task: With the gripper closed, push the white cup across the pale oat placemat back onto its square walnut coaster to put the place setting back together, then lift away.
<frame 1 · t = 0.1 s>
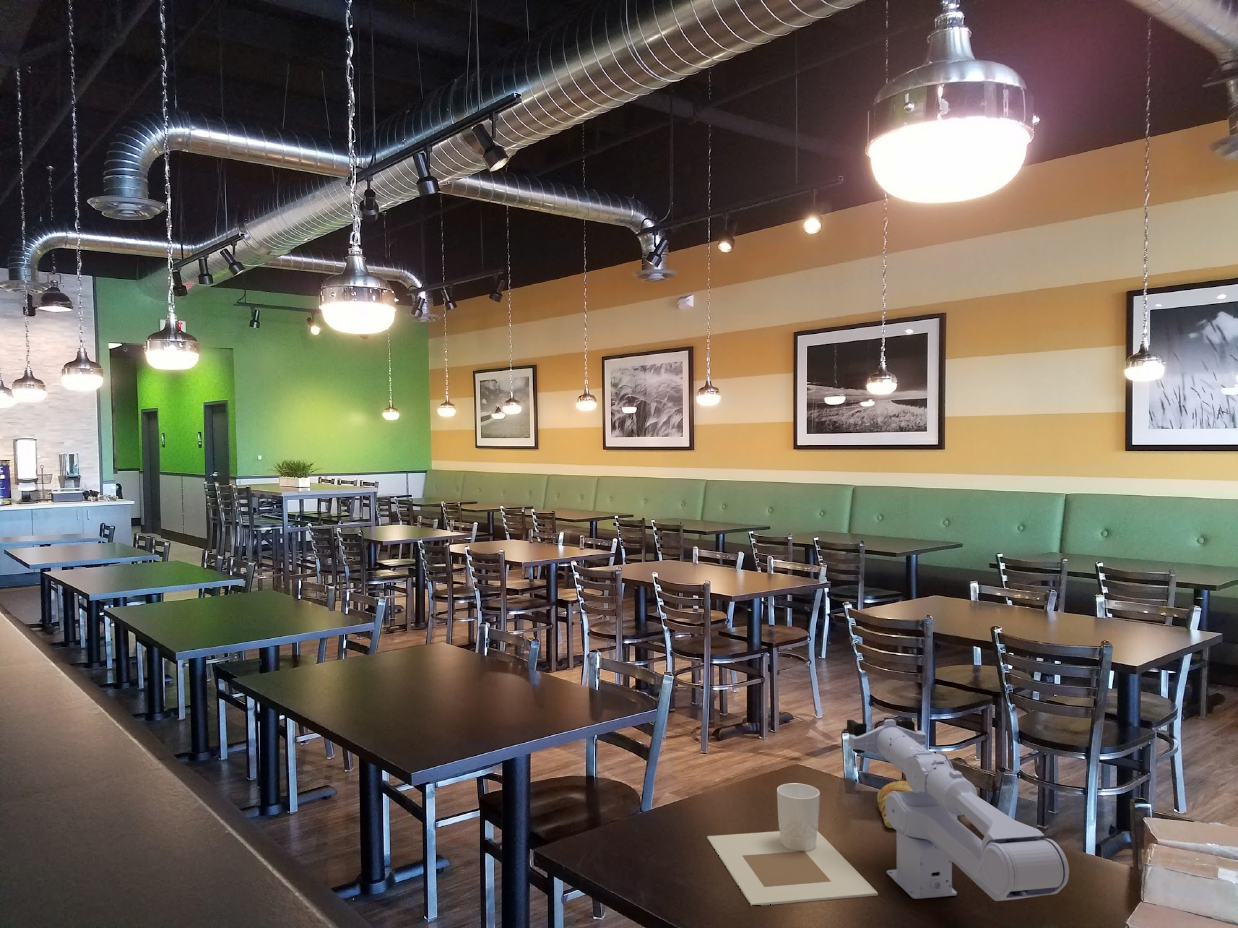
hand: (867, 723, 165), 22 cm above the table, tool horizontal, fingers open, 7 cm apart
croissant: (901, 815, 175), on the table
placemat: (786, 864, 152), on the table
white cup: (798, 844, 160), resting on placemat
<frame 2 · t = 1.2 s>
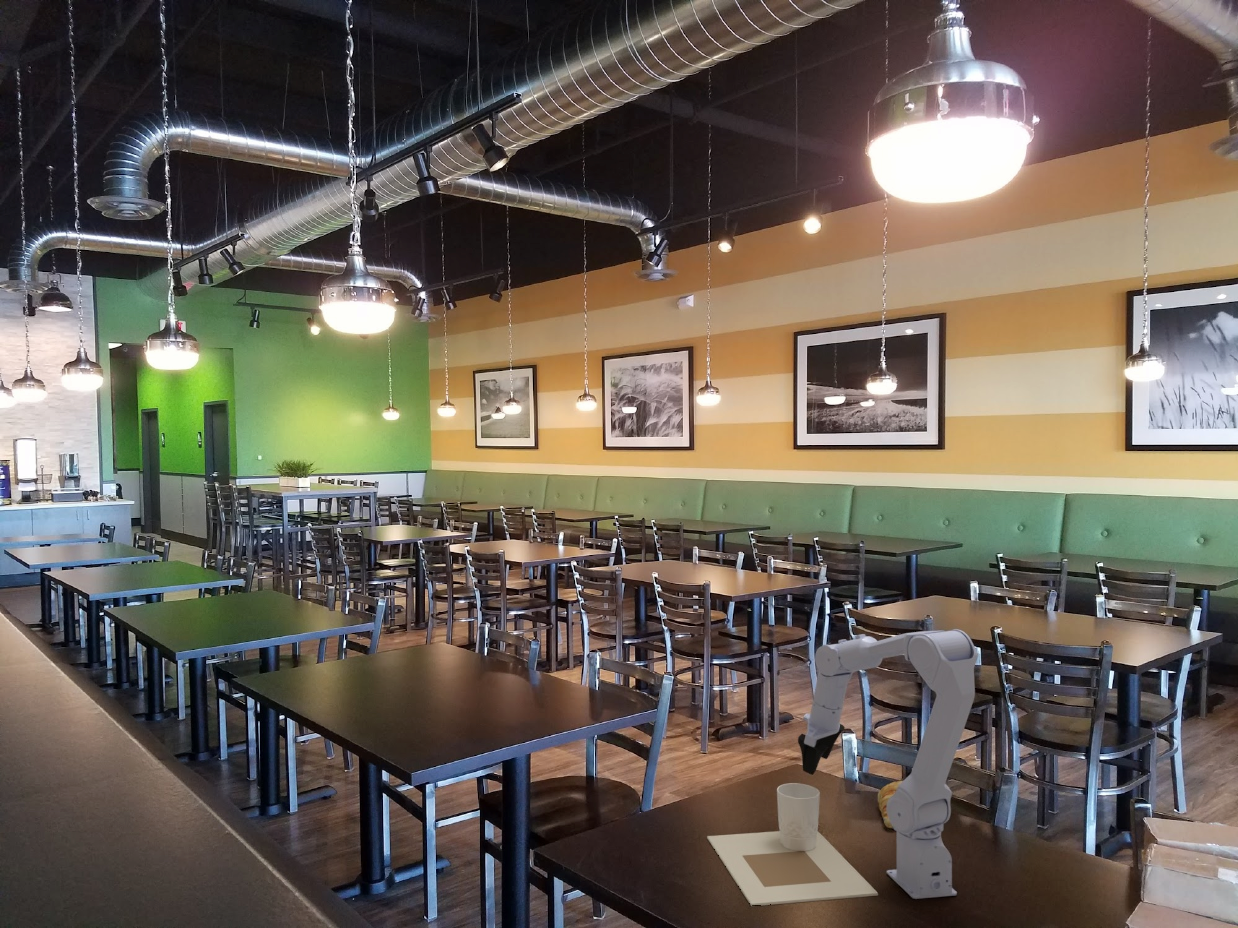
hand: (815, 764, 168), 13 cm above the table, tool tilted 15°, fingers open, 7 cm apart
nothing on the table moved.
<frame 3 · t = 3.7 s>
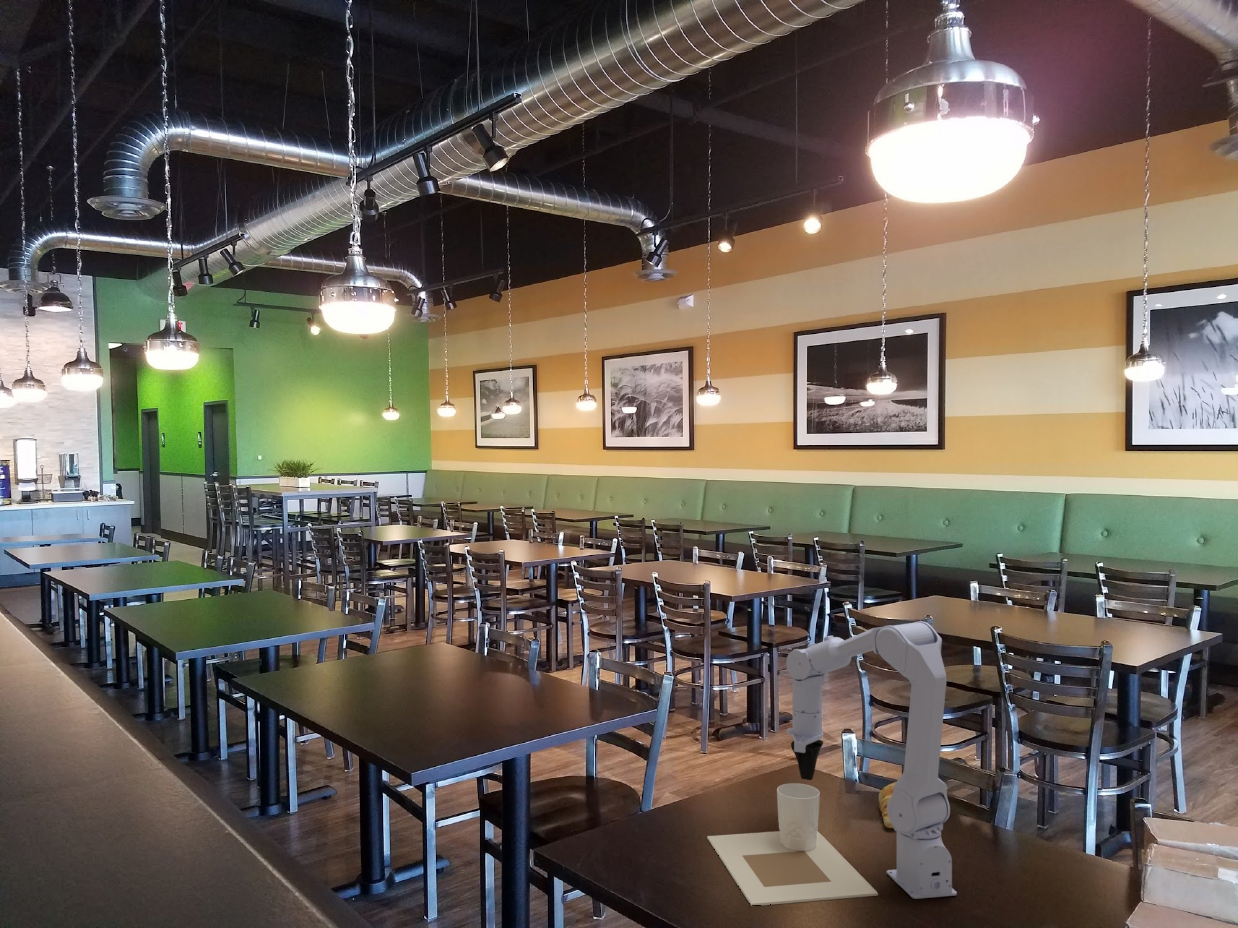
hand: (807, 778, 168), 10 cm above the table, tool pointing down, fingers closed
nothing on the table moved.
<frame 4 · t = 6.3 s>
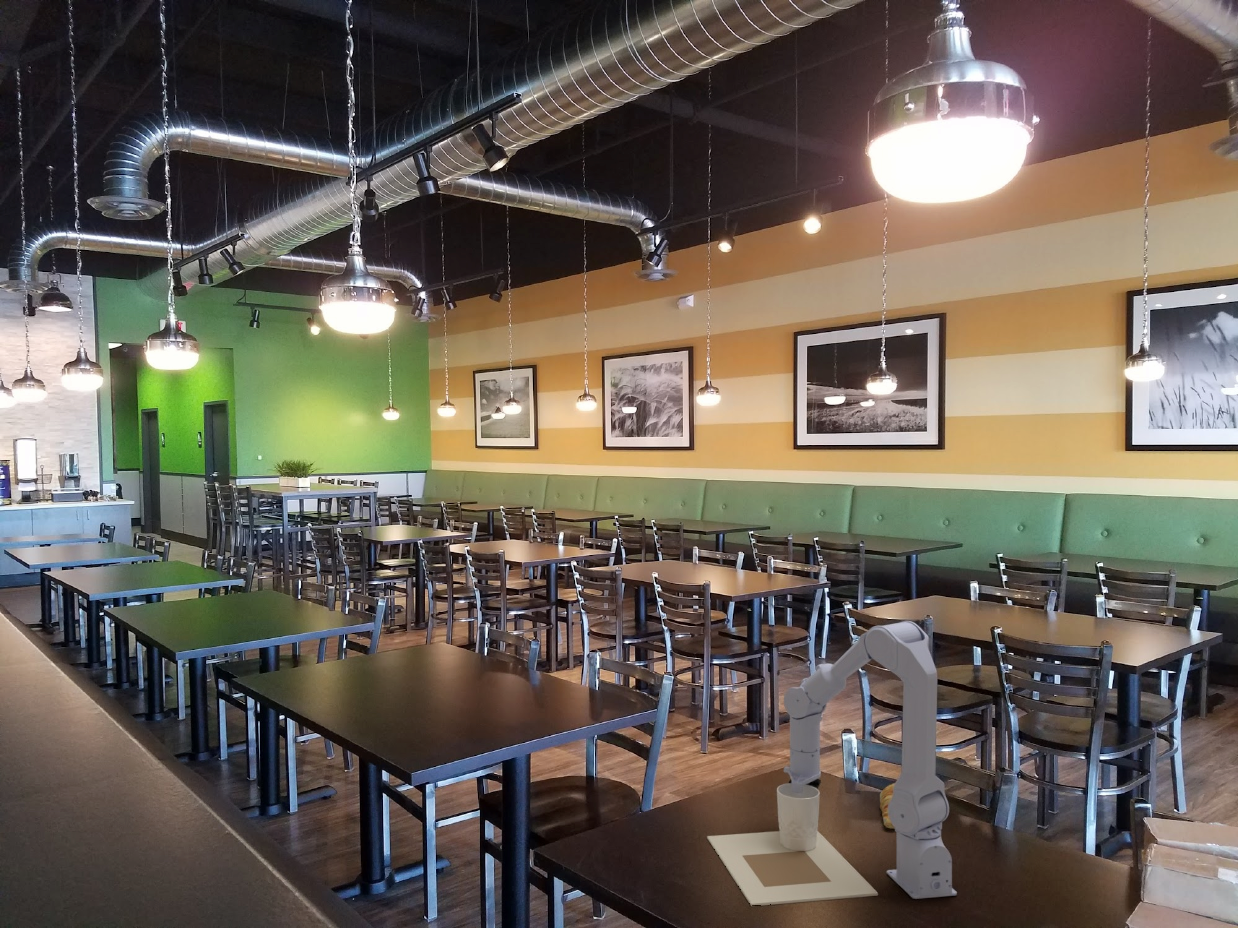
hand: (804, 817, 165), 3 cm above the table, tool pointing down, fingers closed
white cup: (798, 844, 160), resting on placemat, touching gripper
everything else where it was.
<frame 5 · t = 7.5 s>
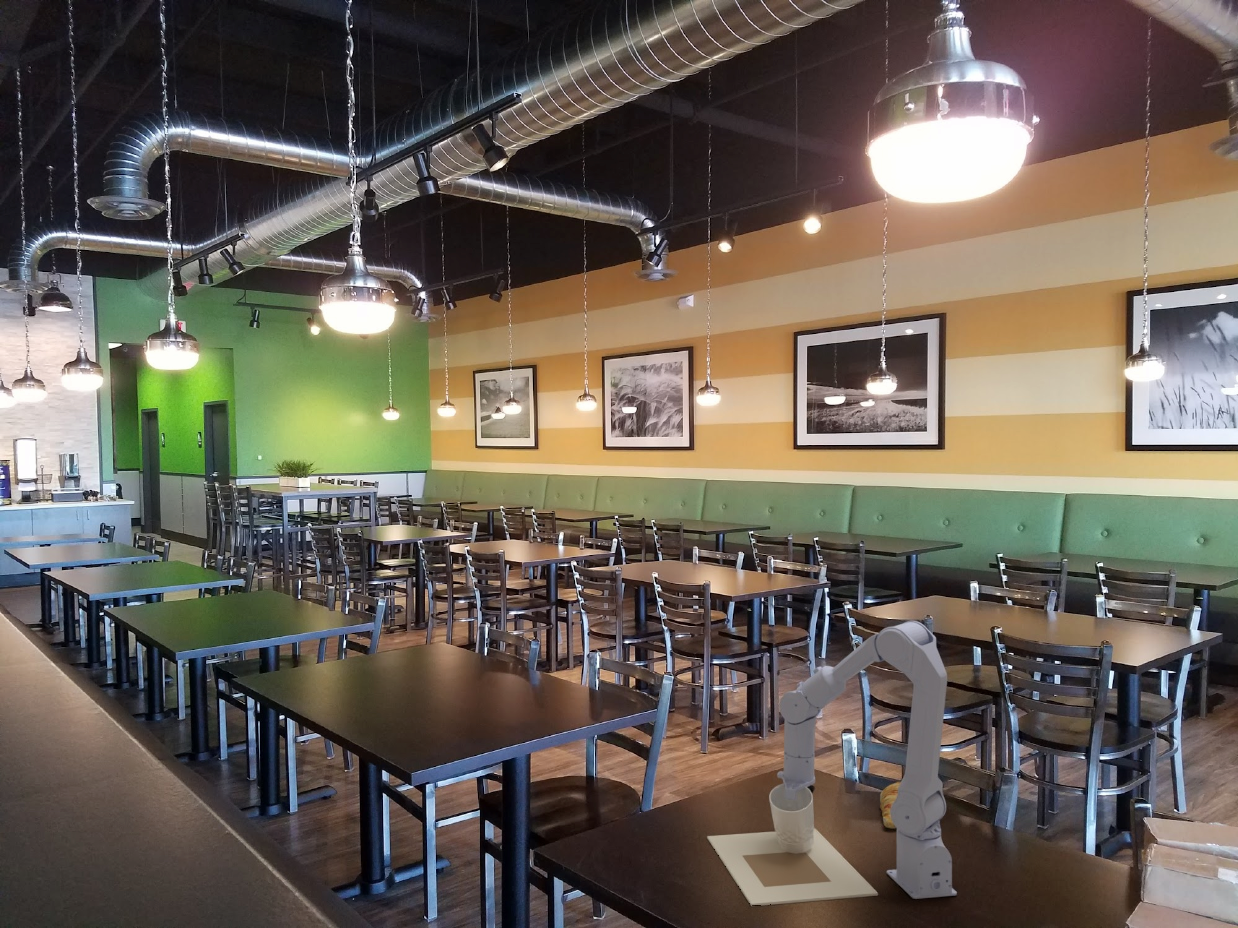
hand: (797, 824, 161), 3 cm above the table, tool pointing down, fingers closed, pressing on white cup
white cup: (795, 841, 158), point 1 cm above the table, touching gripper, placemat
everything else where it was.
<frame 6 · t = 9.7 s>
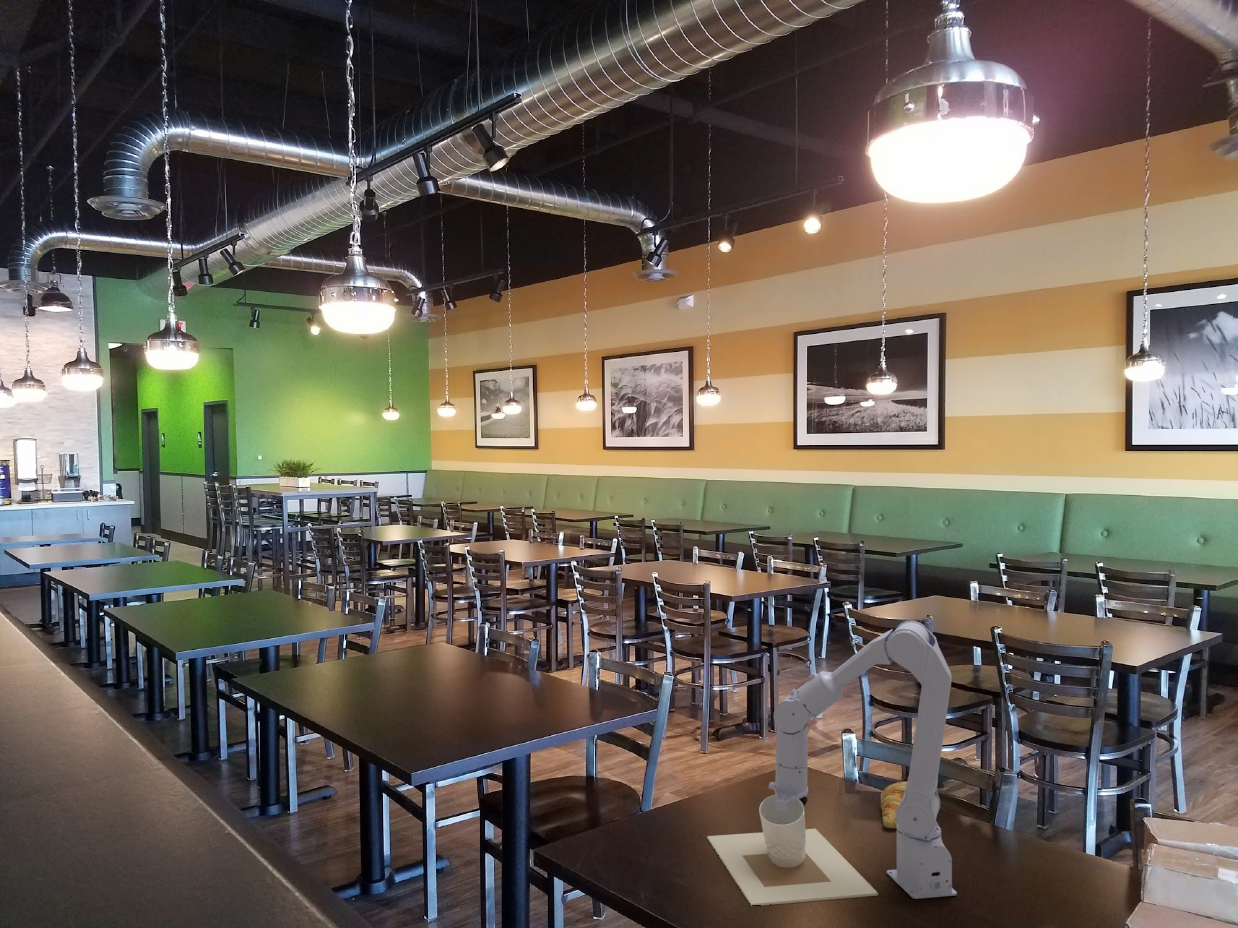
hand: (789, 836, 155), 3 cm above the table, tool pointing down, fingers closed, pressing on white cup
white cup: (787, 854, 153), point 1 cm above the table, touching gripper, placemat
everything else where it was.
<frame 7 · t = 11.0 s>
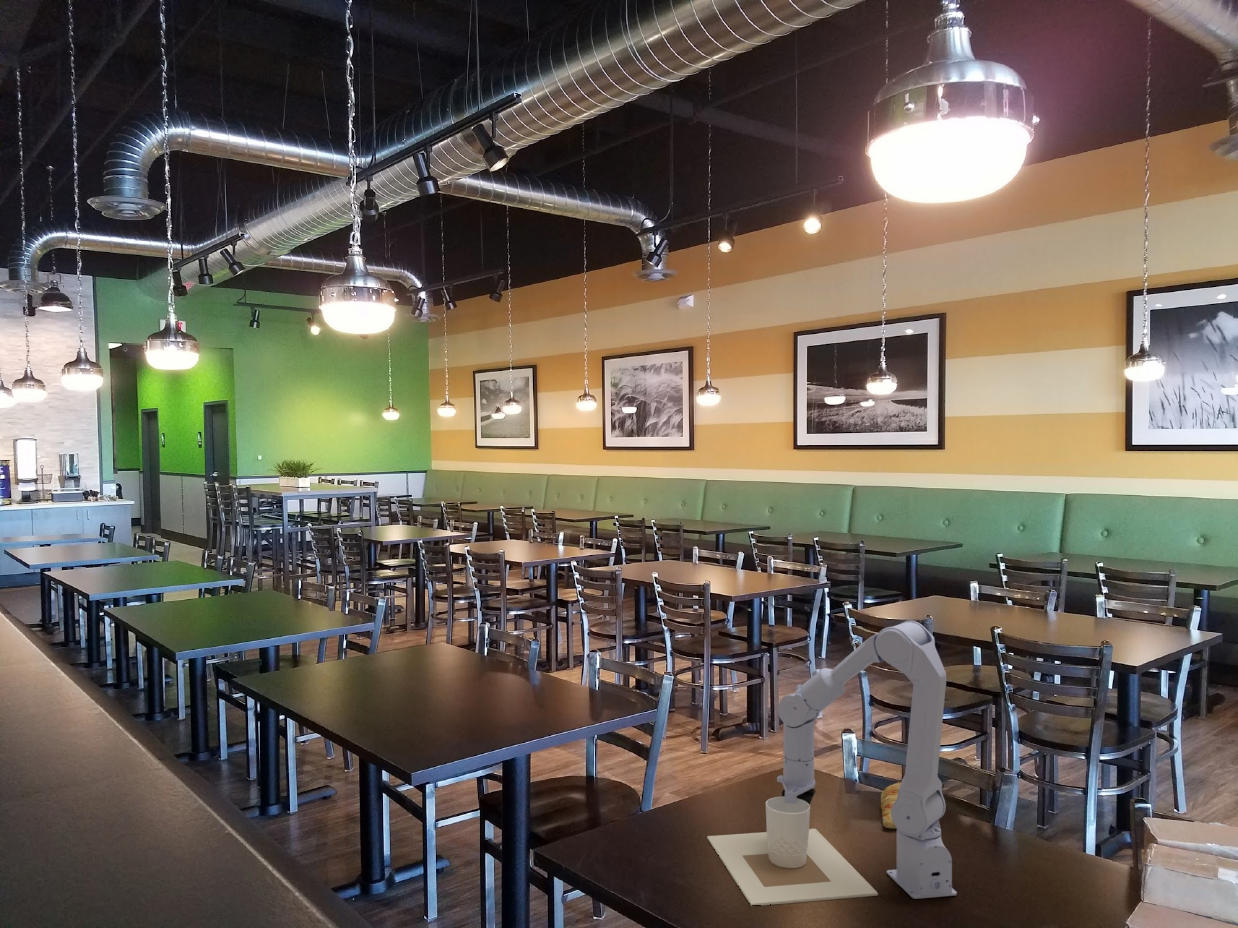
hand: (798, 828, 160), 3 cm above the table, tool pointing down, fingers closed
white cup: (787, 861, 153), resting on placemat
everything else where it was.
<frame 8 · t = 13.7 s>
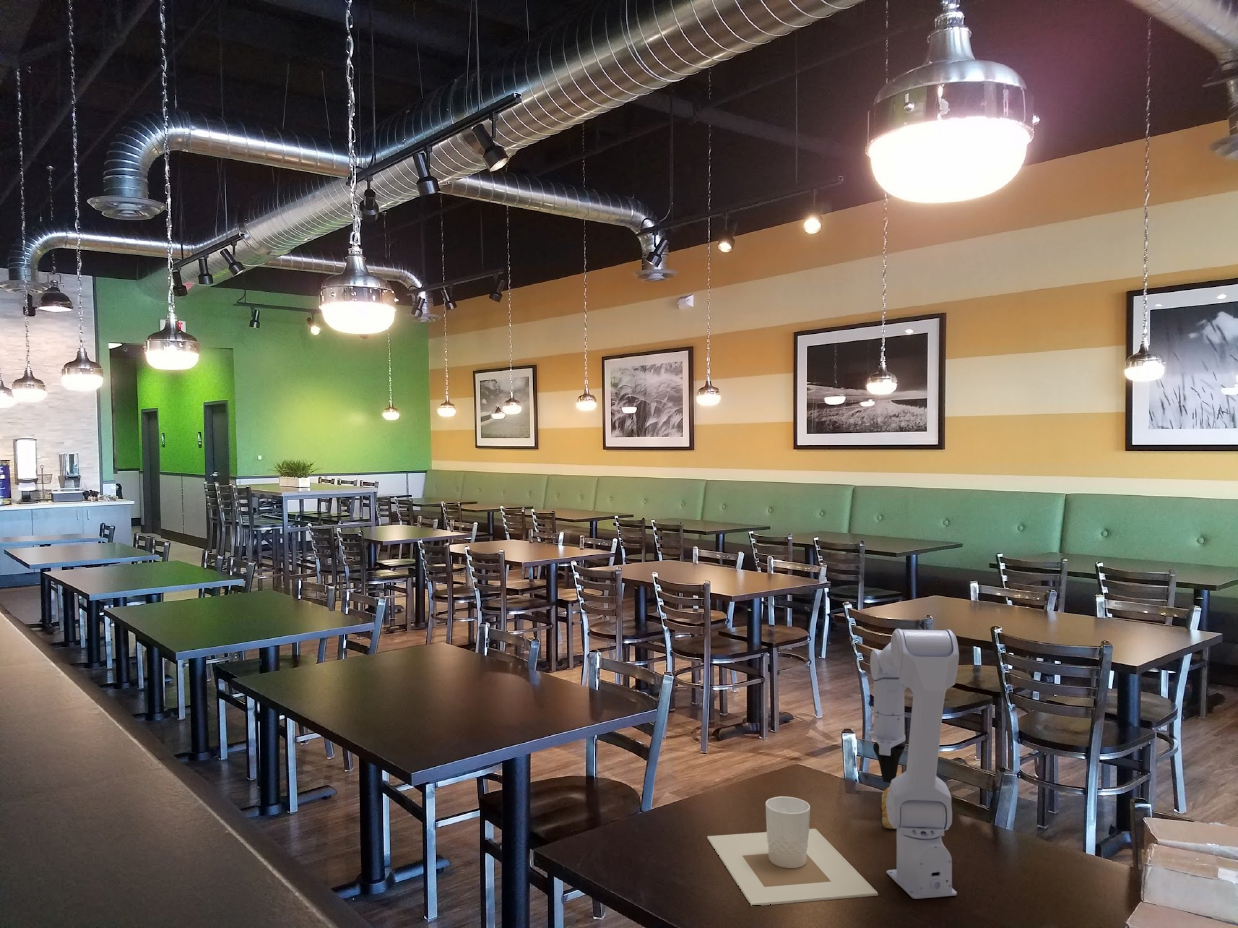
hand: (889, 781, 166), 10 cm above the table, tool pointing down, fingers closed
nothing on the table moved.
at the end: white cup inside the target area (3.3 cm from its centre), resting on placemat; white cup tilted 0° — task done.
